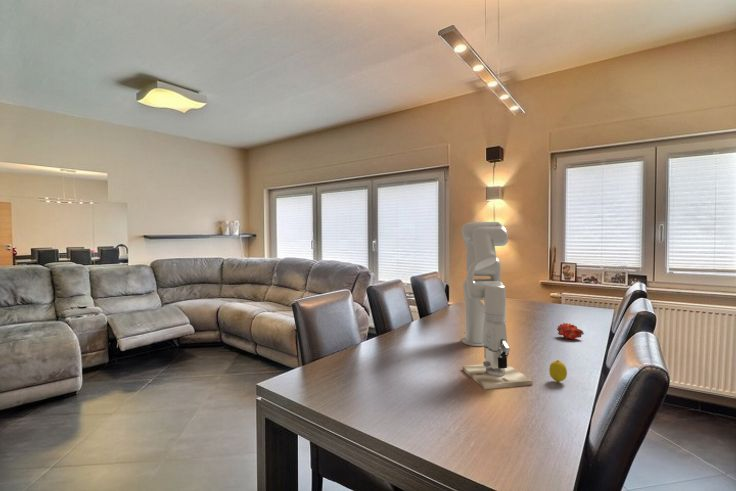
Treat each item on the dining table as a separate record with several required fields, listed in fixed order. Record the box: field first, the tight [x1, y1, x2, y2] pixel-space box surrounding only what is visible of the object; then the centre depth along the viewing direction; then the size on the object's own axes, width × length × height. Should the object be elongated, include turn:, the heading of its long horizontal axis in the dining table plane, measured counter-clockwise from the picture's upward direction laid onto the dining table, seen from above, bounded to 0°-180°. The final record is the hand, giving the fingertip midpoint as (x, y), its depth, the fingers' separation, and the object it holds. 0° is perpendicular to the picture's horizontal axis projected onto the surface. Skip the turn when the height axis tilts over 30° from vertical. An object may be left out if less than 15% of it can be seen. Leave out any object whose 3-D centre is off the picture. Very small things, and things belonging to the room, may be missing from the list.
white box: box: [482, 348, 503, 369], centre depth 130 cm, size 7×5×6 cm
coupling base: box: [461, 363, 534, 390], centre depth 130 cm, size 18×18×4 cm
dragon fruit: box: [556, 322, 585, 341], centre depth 176 cm, size 8×8×12 cm
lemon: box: [548, 359, 568, 384], centre depth 125 cm, size 6×6×8 cm
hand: (495, 363), depth 130 cm, fingers open, 9 cm apart
